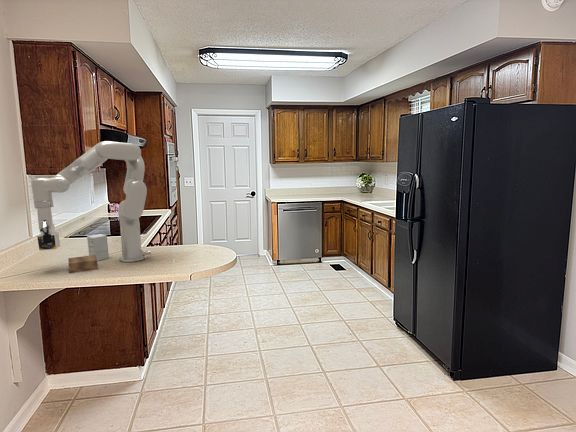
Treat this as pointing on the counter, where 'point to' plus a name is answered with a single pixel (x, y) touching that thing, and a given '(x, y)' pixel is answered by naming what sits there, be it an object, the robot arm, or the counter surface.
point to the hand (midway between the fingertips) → (49, 241)
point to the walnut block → (82, 264)
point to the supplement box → (98, 246)
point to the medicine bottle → (49, 246)
